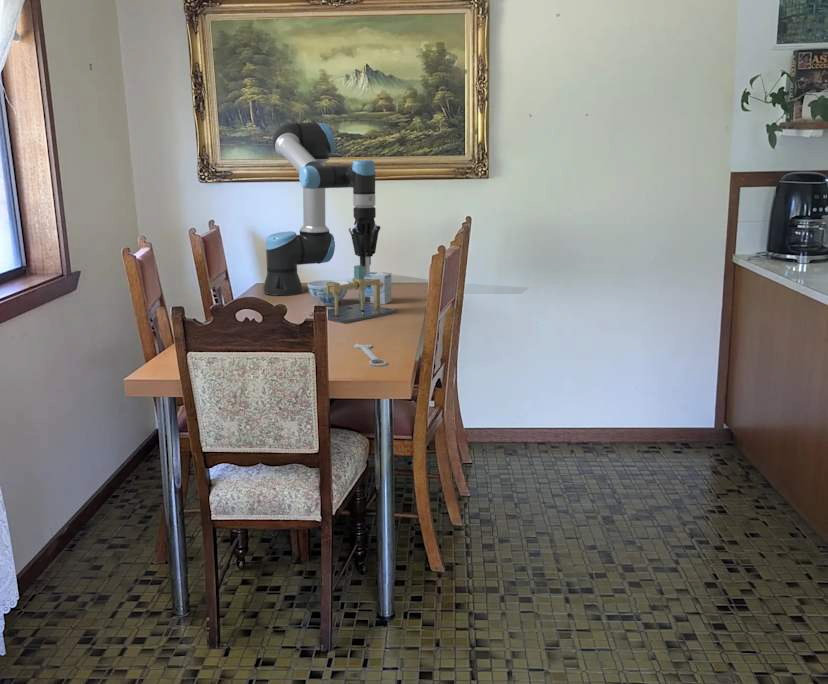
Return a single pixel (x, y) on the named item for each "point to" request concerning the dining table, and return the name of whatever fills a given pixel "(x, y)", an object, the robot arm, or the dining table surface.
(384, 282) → the light bulb box
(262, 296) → the dining table surface
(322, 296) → the chinaware
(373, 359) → the wrench
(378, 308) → the flange plate
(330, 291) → the divider frame
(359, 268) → the sliding head
